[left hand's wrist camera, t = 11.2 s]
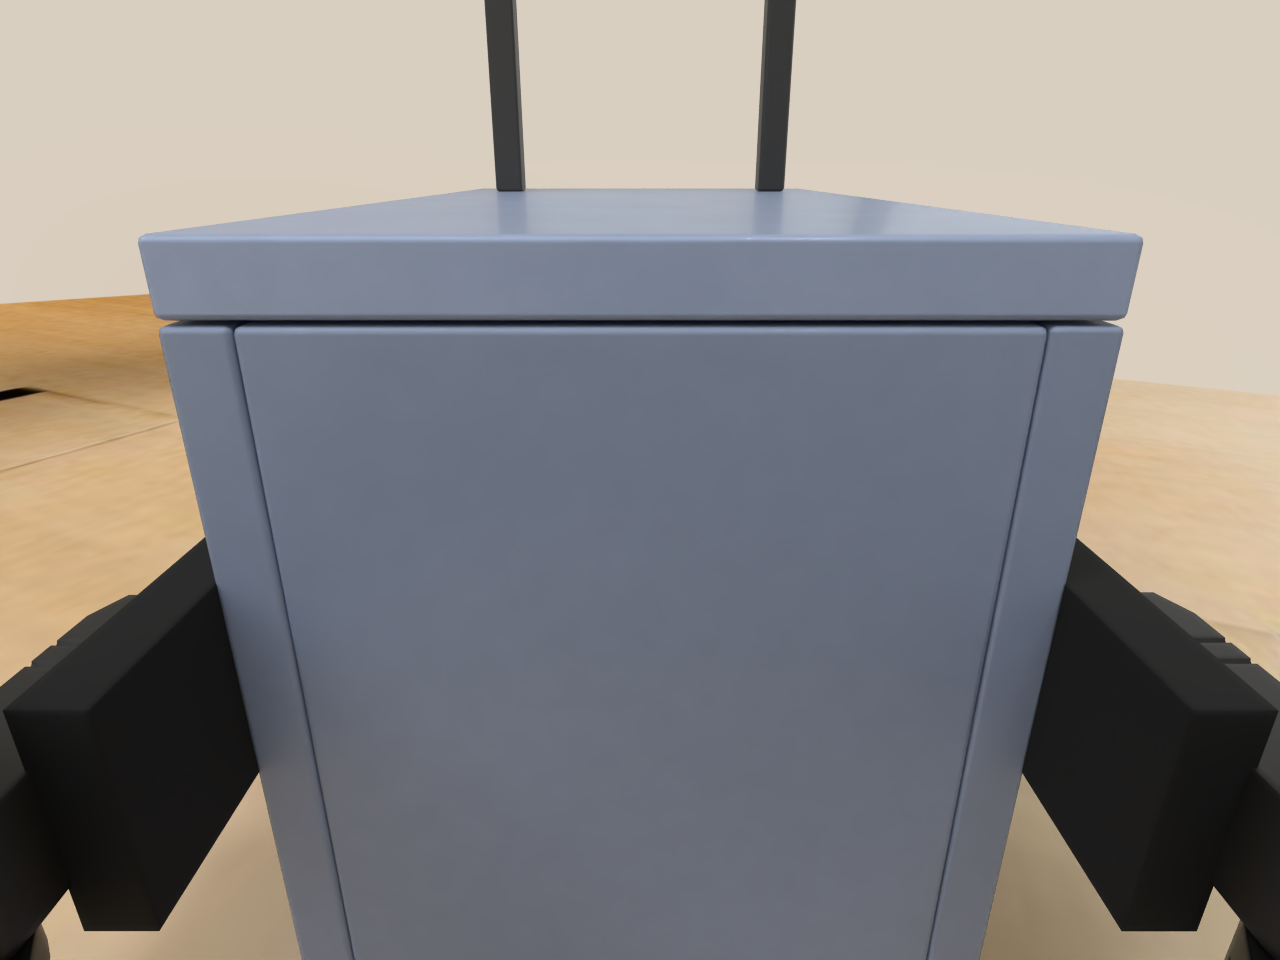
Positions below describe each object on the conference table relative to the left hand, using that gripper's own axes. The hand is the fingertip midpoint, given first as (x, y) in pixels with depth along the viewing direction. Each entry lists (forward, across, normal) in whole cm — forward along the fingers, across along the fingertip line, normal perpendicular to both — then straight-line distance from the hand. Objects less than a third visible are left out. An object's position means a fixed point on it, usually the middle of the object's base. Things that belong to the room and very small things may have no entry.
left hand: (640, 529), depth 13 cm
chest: (+4, 0, -7) cm, 8 cm away
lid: (+4, 0, +4) cm, 6 cm away
